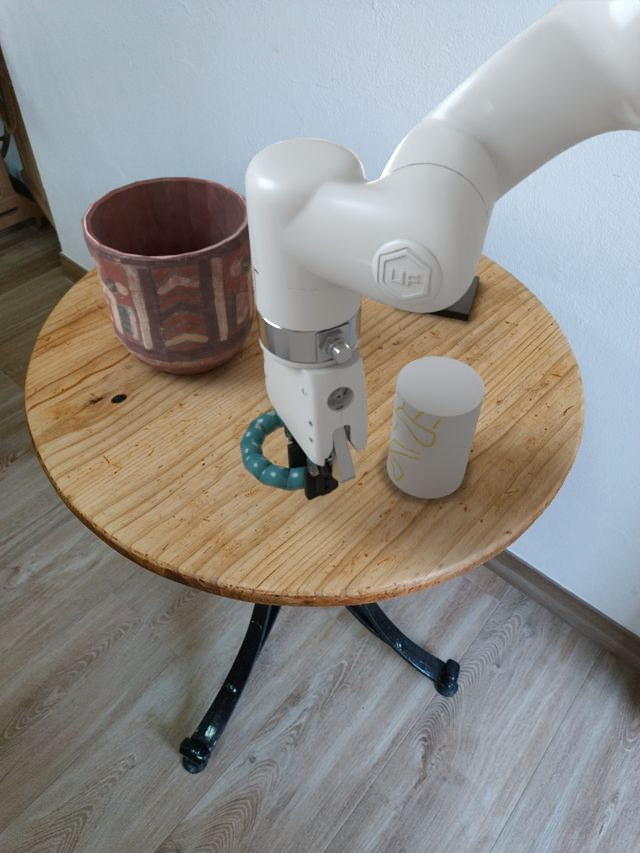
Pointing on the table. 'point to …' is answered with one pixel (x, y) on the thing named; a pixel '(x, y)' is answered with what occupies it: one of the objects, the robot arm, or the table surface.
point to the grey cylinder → (433, 425)
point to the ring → (259, 463)
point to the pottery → (174, 270)
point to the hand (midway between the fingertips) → (313, 479)
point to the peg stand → (460, 304)
